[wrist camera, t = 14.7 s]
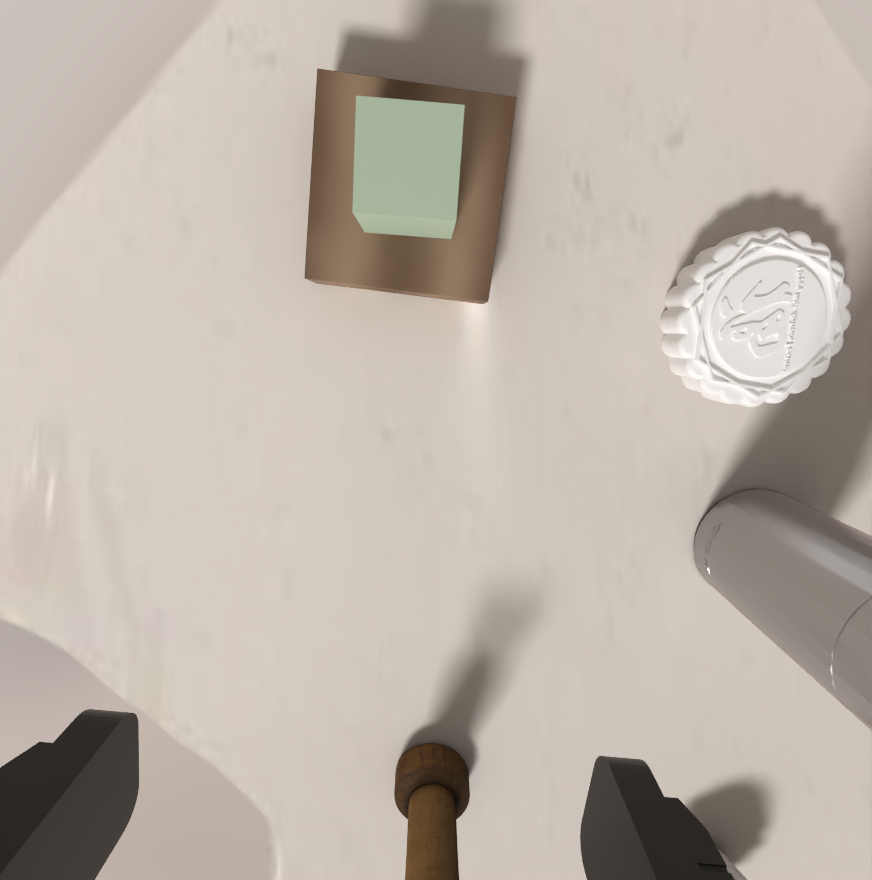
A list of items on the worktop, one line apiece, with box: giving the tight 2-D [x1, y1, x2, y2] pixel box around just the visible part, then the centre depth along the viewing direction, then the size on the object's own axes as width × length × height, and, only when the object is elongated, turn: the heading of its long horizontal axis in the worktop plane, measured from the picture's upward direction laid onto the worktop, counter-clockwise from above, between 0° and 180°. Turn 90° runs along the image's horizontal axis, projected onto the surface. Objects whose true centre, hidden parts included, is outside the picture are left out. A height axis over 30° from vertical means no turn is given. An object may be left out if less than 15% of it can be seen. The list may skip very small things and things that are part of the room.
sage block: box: [352, 96, 465, 239], centre depth 28 cm, size 6×6×6 cm
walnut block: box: [305, 69, 516, 304], centre depth 33 cm, size 12×12×4 cm
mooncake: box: [660, 227, 851, 407], centre depth 35 cm, size 12×12×4 cm
